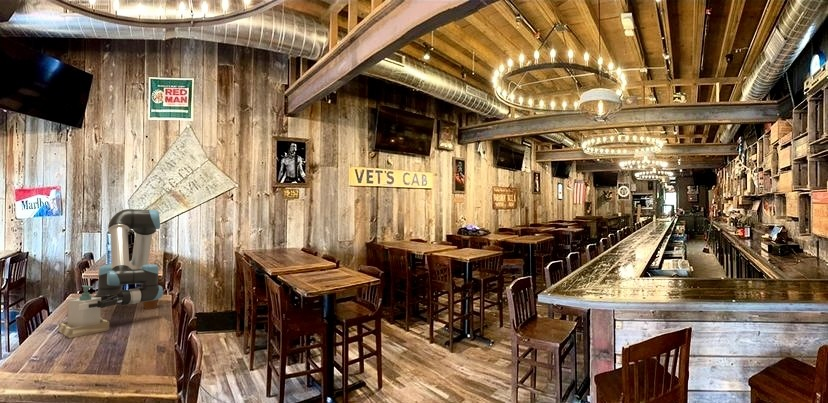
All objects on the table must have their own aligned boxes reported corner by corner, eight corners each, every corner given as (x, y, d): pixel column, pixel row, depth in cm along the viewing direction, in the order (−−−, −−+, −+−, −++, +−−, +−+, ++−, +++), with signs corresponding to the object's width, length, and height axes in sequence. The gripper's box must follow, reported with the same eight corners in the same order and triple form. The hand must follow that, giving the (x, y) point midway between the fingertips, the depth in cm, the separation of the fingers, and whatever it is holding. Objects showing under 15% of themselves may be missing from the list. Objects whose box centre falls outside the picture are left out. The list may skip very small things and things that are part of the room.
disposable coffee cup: (152, 310, 226) (153, 289, 226) (136, 309, 226) (137, 288, 226) (163, 306, 235) (164, 286, 235) (148, 305, 235) (149, 285, 236)
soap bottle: (82, 328, 183) (84, 288, 183) (67, 327, 184) (69, 286, 185) (100, 323, 191) (102, 284, 191) (86, 321, 193) (87, 283, 193)
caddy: (58, 331, 186) (58, 322, 186) (97, 324, 198) (97, 316, 198) (69, 338, 177) (69, 329, 177) (109, 330, 190) (109, 321, 190)
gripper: (138, 308, 196) (83, 317, 178) (118, 300, 209) (65, 308, 191) (139, 293, 197) (84, 301, 178) (119, 286, 209) (66, 293, 191)
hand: (74, 305), depth 185 cm, fingers closed on soap bottle, 11 cm apart
